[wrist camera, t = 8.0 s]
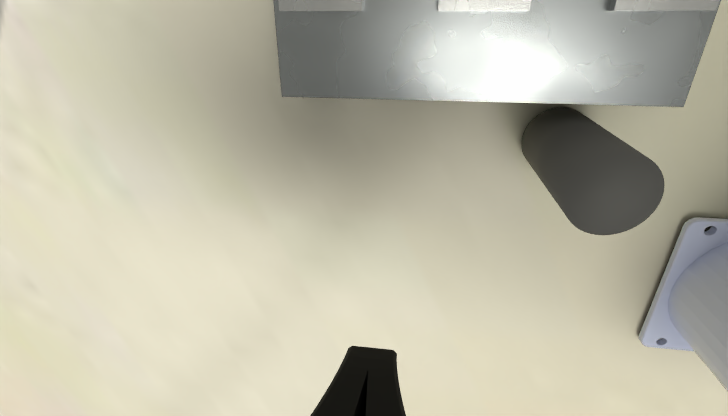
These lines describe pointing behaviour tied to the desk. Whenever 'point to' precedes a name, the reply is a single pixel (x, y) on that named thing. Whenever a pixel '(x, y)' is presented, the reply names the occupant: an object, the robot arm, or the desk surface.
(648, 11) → the breaker panel
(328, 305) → the desk surface
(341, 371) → the robot arm
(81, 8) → the desk surface
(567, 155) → the cylinder
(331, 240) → the desk surface
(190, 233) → the desk surface
